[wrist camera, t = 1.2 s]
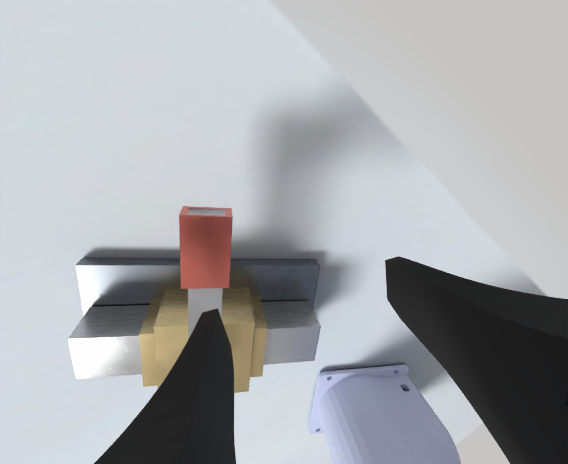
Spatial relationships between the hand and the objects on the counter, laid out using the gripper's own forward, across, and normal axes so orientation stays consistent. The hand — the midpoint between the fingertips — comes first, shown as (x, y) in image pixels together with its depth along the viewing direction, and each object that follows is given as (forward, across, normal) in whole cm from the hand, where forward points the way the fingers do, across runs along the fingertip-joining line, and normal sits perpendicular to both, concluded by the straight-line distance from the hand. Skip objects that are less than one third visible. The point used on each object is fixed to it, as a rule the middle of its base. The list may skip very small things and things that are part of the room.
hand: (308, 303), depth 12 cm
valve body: (+9, +6, +6) cm, 13 cm away
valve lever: (+4, +5, +1) cm, 7 cm away
